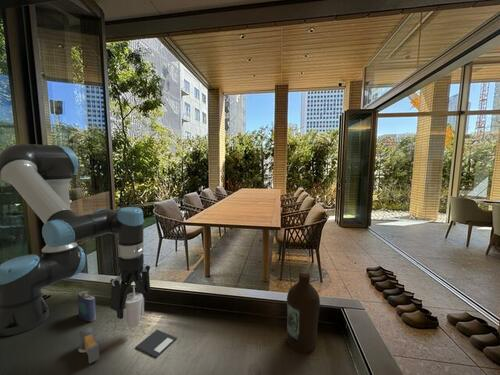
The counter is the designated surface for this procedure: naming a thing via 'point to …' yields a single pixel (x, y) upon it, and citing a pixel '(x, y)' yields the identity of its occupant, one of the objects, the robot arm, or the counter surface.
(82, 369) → the counter surface
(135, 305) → the smoothie
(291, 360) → the counter surface
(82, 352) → the base
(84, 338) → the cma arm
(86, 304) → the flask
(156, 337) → the pad
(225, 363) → the counter surface
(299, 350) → the olive oil
